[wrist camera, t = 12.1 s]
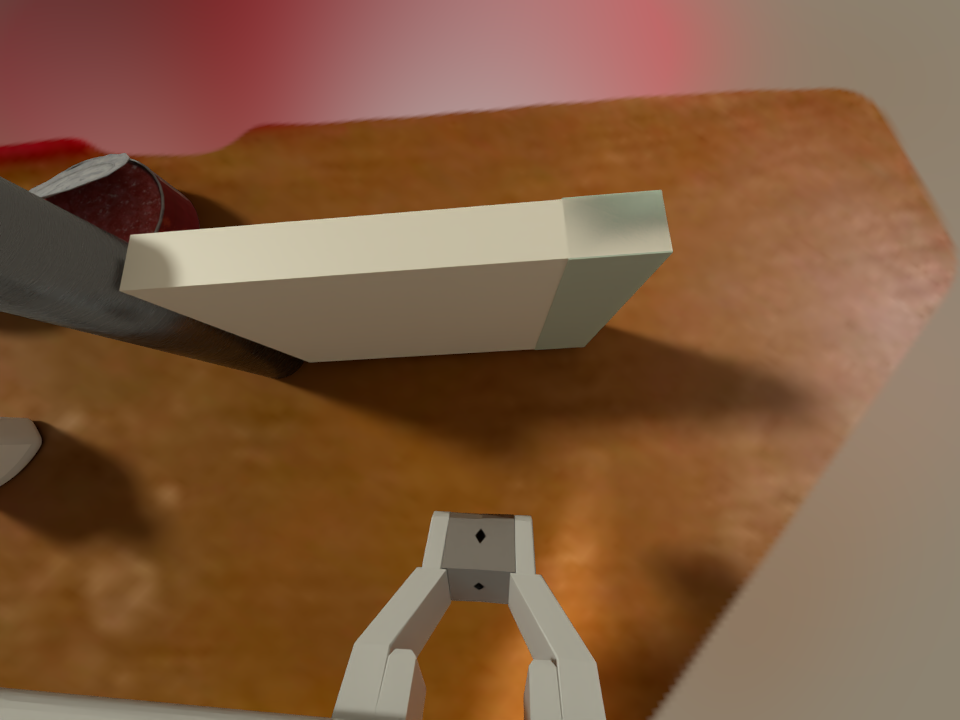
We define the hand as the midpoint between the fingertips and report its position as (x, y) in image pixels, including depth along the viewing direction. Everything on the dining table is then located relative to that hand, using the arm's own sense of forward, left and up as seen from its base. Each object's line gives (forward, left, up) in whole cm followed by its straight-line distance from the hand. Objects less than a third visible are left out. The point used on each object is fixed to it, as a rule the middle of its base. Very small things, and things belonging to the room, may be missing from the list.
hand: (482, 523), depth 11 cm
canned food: (+12, +29, -10) cm, 33 cm away
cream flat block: (+8, +4, -9) cm, 13 cm away
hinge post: (+6, +15, -10) cm, 19 cm away
